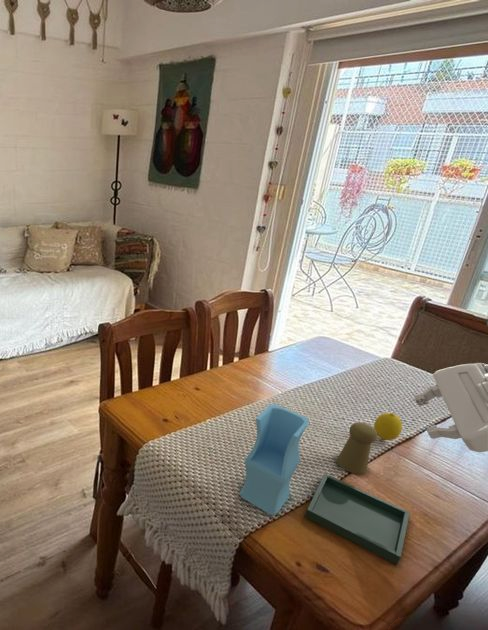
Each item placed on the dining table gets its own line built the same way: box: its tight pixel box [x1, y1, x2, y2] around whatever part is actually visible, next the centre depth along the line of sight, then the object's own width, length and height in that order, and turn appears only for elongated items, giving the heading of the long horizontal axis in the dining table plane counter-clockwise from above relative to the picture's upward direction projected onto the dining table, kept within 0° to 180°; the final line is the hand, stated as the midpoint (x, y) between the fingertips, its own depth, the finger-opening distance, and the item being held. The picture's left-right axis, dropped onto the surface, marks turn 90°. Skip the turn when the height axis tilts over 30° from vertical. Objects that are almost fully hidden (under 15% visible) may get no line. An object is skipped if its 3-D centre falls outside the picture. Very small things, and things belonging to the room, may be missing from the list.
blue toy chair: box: [239, 403, 311, 516], centre depth 89 cm, size 8×8×20 cm
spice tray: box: [304, 473, 411, 565], centre depth 88 cm, size 16×14×2 cm
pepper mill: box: [336, 421, 378, 475], centre depth 101 cm, size 6×6×11 cm
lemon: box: [373, 412, 403, 441], centre depth 110 cm, size 6×6×8 cm
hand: (422, 416), depth 89 cm, fingers open, 8 cm apart
